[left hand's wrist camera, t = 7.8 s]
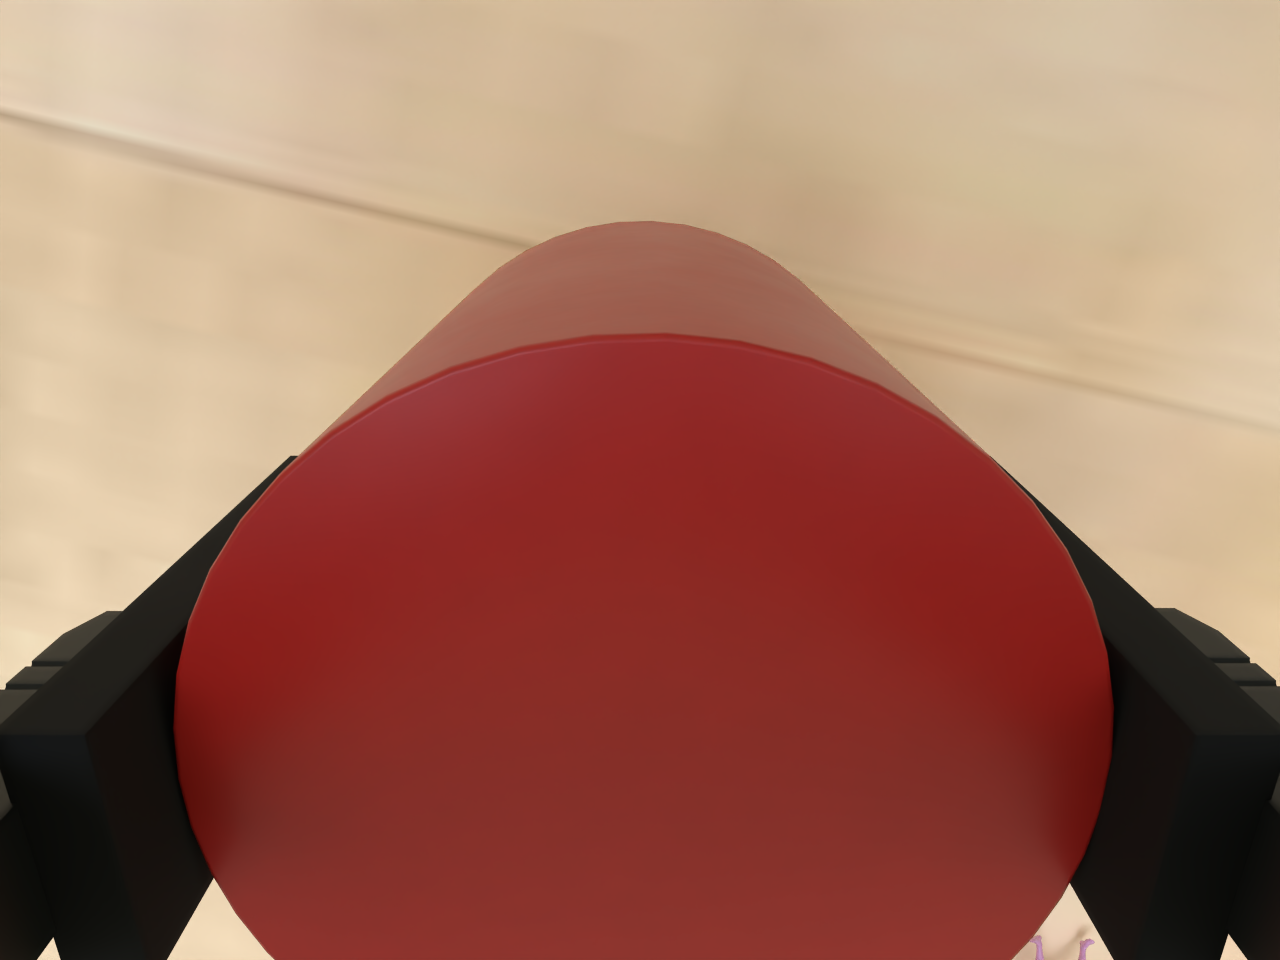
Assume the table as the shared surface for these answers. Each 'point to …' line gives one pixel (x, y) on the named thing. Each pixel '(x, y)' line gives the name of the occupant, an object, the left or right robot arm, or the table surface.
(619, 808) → the canister
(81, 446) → the table surface
